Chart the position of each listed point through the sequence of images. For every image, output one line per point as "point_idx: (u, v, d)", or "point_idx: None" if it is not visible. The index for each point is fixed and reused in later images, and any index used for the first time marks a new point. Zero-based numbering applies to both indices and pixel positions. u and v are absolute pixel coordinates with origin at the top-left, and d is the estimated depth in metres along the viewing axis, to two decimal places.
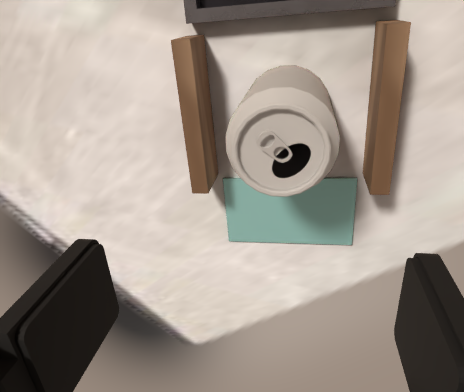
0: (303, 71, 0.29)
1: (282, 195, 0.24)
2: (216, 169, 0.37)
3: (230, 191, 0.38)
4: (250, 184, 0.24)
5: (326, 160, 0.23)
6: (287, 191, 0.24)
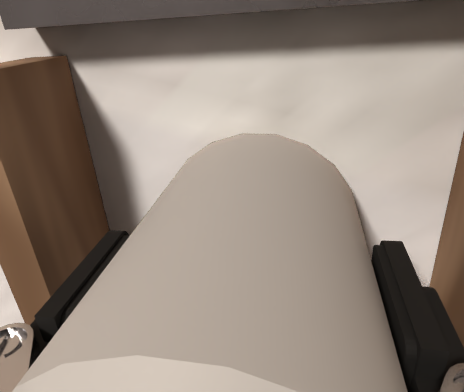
0: (295, 160, 0.11)
1: None
2: None
3: None
4: None
5: None
6: None
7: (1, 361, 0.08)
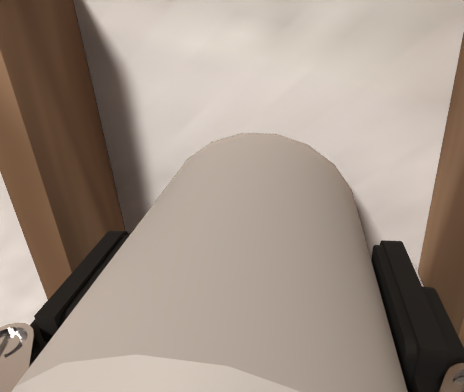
0: (295, 159, 0.11)
1: None
2: None
3: None
4: None
5: None
6: None
7: (1, 361, 0.08)
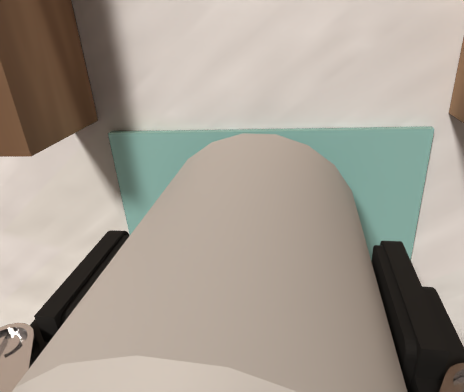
0: (295, 160, 0.11)
1: None
2: (87, 107, 0.15)
3: (128, 163, 0.16)
4: None
5: None
6: None
7: (1, 361, 0.08)
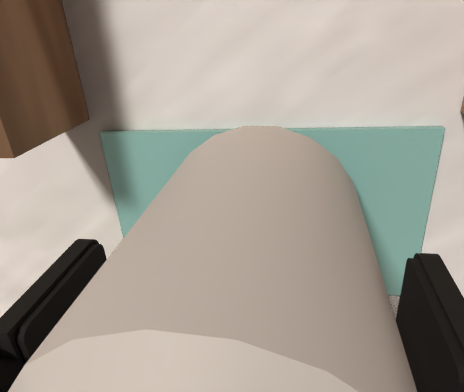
0: (298, 150, 0.11)
1: None
2: (77, 105, 0.14)
3: (121, 164, 0.16)
4: None
5: None
6: None
7: None
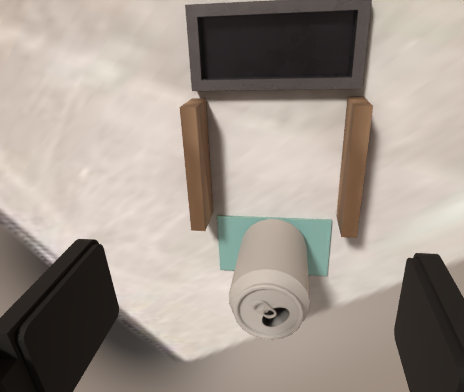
0: (286, 230, 0.39)
1: (268, 338, 0.34)
2: (211, 208, 0.42)
3: (223, 227, 0.43)
4: (246, 330, 0.34)
5: (300, 321, 0.33)
6: (272, 336, 0.34)
7: None
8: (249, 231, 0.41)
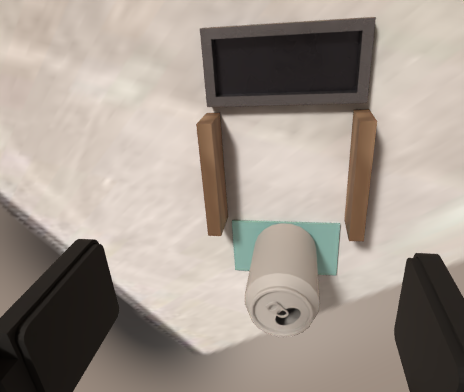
0: (297, 234, 0.42)
1: (282, 336, 0.37)
2: (226, 213, 0.45)
3: (237, 230, 0.46)
4: (261, 328, 0.37)
5: (310, 320, 0.35)
6: (285, 334, 0.37)
7: None
8: (262, 235, 0.44)
